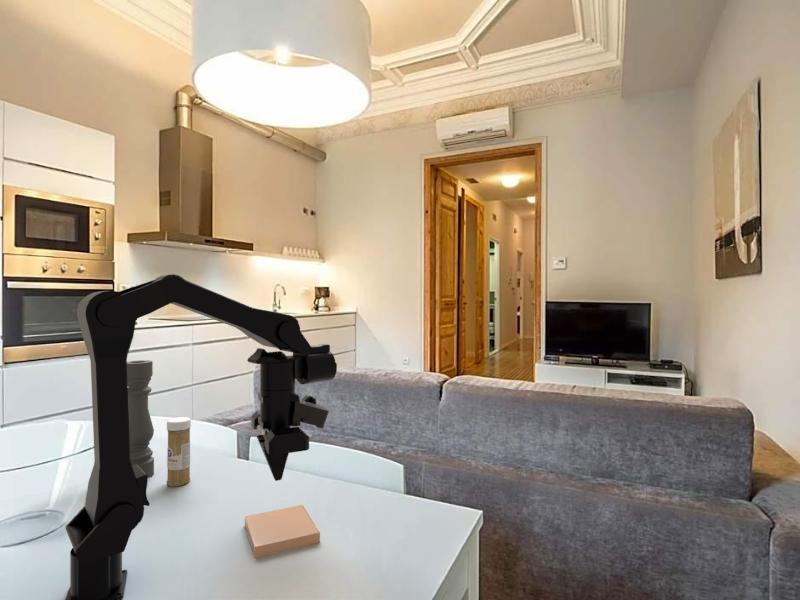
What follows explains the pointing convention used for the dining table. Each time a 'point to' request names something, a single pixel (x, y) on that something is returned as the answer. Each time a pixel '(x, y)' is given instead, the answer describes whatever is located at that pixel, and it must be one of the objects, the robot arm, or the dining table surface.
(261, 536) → the tile
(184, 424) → the sprinkles bottle
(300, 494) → the dining table surface
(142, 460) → the candle holder
